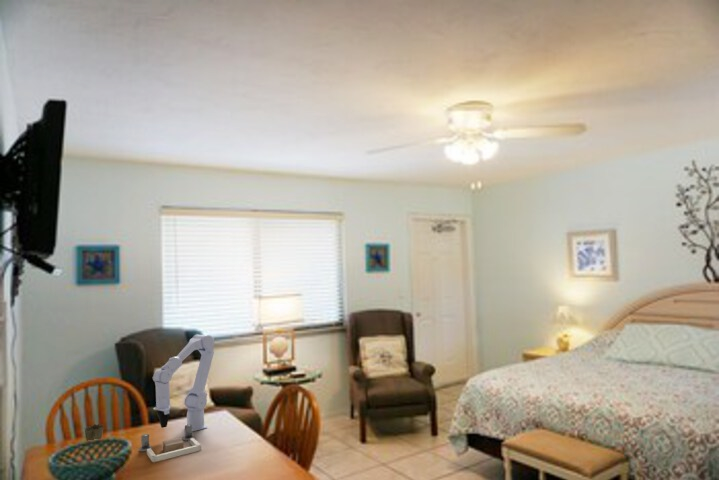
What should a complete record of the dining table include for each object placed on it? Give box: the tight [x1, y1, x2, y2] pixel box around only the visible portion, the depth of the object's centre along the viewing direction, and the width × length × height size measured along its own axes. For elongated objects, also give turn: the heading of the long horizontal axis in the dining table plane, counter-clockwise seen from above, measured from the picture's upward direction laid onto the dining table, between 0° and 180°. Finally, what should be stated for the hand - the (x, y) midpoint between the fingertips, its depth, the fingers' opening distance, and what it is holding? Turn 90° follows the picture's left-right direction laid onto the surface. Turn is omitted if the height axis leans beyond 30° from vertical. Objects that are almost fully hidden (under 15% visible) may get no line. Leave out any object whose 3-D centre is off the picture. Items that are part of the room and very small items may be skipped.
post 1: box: [138, 433, 153, 453], centre depth 202 cm, size 5×5×6 cm
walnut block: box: [162, 437, 185, 453], centre depth 199 cm, size 7×7×4 cm
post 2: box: [182, 424, 196, 442], centre depth 212 cm, size 5×5×6 cm
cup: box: [84, 423, 104, 442], centre depth 211 cm, size 8×7×8 cm
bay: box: [146, 438, 202, 463], centre depth 197 cm, size 12×19×2 cm, turn 124°
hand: (163, 426), depth 213 cm, fingers closed
